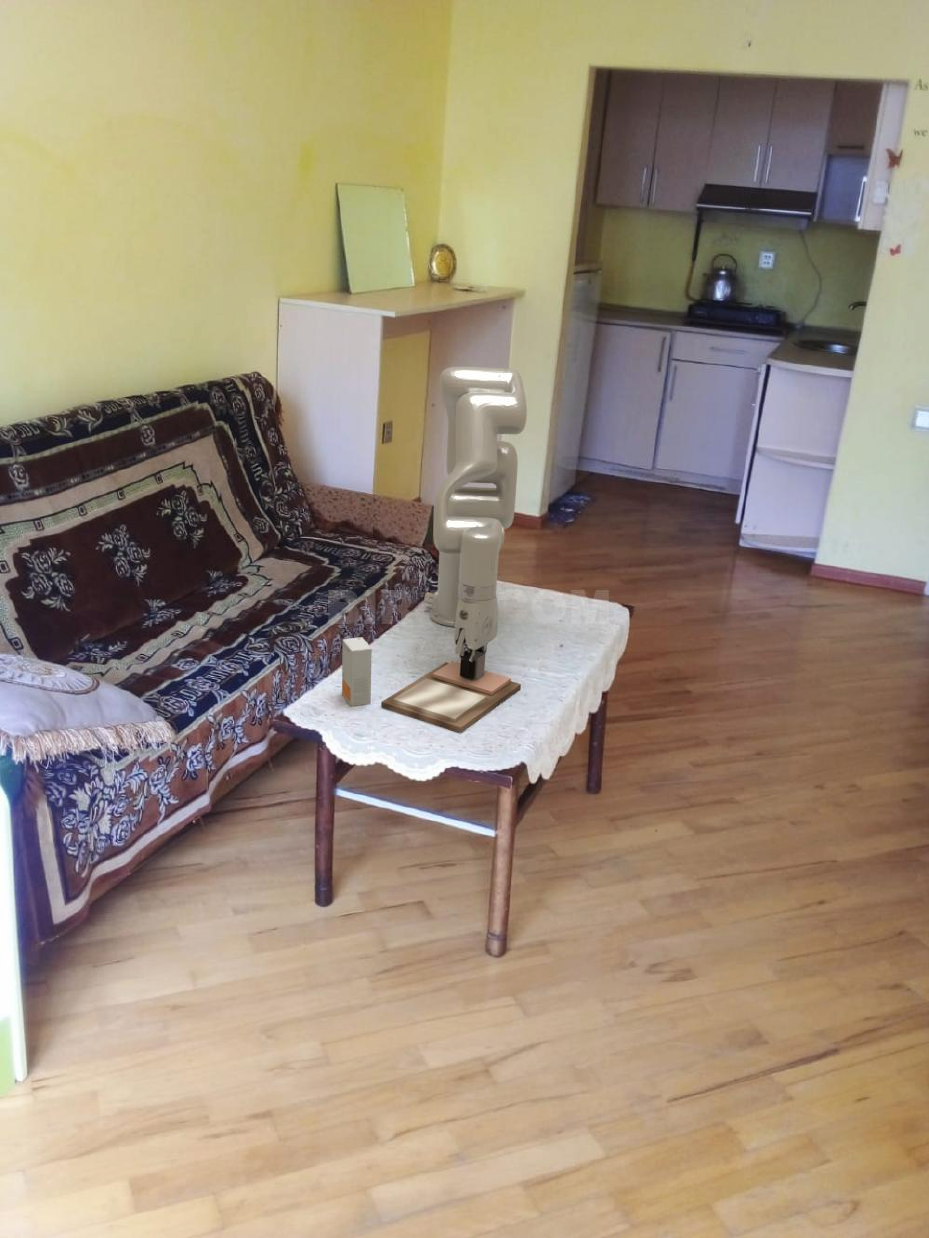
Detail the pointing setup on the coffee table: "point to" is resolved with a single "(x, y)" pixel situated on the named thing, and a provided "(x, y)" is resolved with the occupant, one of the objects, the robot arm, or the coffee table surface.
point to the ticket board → (446, 702)
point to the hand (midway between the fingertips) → (472, 673)
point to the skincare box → (356, 671)
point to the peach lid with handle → (482, 680)
